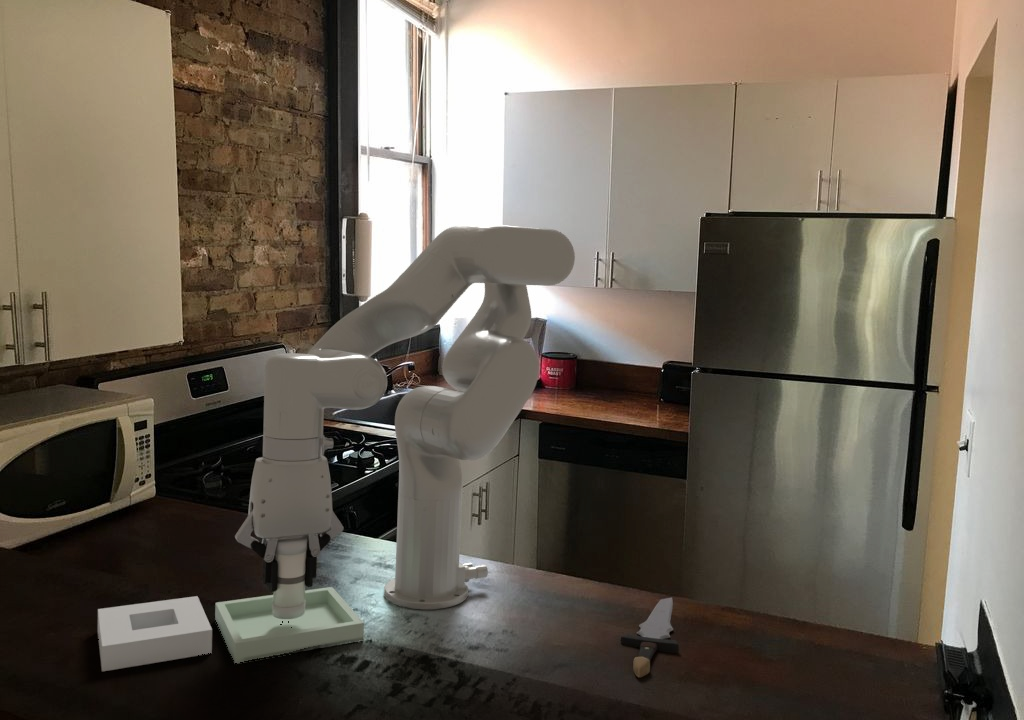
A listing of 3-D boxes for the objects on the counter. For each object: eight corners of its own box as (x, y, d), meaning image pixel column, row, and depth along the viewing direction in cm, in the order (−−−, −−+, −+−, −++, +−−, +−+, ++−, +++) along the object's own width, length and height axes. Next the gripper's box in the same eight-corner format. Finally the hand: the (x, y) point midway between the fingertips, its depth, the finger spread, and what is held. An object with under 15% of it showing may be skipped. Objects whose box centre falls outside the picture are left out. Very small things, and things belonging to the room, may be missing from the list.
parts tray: (331, 603, 116) (332, 586, 115) (363, 641, 103) (364, 622, 103) (215, 620, 108) (215, 602, 108) (234, 663, 96) (235, 643, 95)
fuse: (300, 604, 108) (302, 532, 108) (308, 616, 105) (311, 541, 104) (268, 609, 106) (270, 535, 105) (276, 621, 103) (278, 545, 102)
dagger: (617, 680, 97) (618, 663, 97) (625, 589, 129) (626, 577, 128) (680, 688, 96) (681, 671, 96) (673, 594, 127) (674, 582, 127)
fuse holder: (197, 617, 108) (197, 596, 108) (211, 653, 98) (212, 629, 98) (97, 631, 103) (97, 609, 102) (101, 671, 92) (102, 646, 92)
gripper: (346, 440, 111) (342, 569, 113) (220, 446, 103) (217, 585, 104) (364, 450, 105) (359, 587, 106) (231, 457, 96) (228, 605, 98)
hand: (289, 584), depth 105 cm, fingers closed on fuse, 4 cm apart
